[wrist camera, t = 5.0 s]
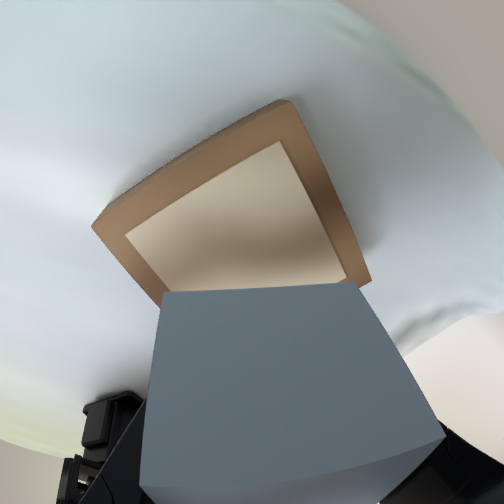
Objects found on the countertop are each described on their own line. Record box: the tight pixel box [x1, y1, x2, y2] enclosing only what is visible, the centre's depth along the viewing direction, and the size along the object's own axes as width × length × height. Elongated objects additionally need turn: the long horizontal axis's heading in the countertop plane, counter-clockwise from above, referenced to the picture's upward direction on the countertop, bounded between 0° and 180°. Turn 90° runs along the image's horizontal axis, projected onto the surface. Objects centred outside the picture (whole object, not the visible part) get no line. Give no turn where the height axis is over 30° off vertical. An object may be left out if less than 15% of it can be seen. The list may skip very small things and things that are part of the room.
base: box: [91, 99, 372, 309], centre depth 16 cm, size 10×10×3 cm
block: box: [139, 281, 446, 504], centre depth 7 cm, size 5×5×5 cm
